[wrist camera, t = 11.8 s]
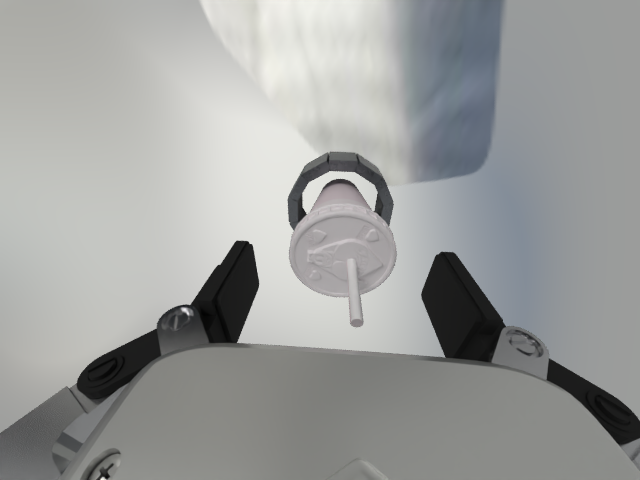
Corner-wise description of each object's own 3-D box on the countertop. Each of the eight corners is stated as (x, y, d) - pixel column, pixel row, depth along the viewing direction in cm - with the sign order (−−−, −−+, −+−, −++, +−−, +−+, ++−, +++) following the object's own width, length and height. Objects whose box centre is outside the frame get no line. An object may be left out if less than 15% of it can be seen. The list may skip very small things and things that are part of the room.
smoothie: (367, 230, 23) (399, 370, 11) (304, 224, 23) (271, 356, 11) (381, 167, 20) (447, 271, 8) (307, 160, 20) (265, 253, 8)
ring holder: (292, 150, 20) (285, 158, 17) (393, 154, 19) (402, 162, 17) (295, 236, 24) (290, 252, 22) (377, 240, 24) (382, 257, 21)
